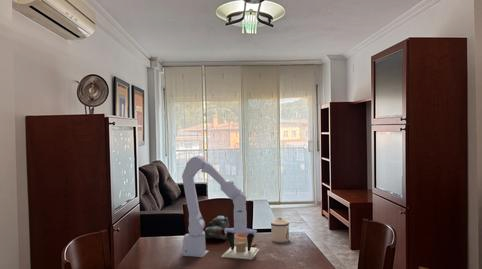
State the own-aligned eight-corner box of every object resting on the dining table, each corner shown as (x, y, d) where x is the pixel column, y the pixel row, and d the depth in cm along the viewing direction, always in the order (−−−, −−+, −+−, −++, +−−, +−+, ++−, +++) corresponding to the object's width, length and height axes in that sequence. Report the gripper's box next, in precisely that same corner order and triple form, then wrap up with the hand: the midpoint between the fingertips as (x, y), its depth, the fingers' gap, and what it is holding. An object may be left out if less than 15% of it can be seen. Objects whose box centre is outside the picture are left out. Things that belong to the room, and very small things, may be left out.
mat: (221, 257, 157) (220, 256, 157) (231, 247, 171) (231, 246, 171) (251, 260, 153) (251, 259, 153) (259, 249, 167) (259, 248, 167)
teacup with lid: (290, 242, 176) (289, 219, 176) (271, 243, 176) (271, 219, 176) (287, 235, 188) (287, 213, 188) (270, 236, 188) (269, 213, 188)
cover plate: (223, 256, 158) (223, 246, 158) (232, 247, 170) (232, 238, 170) (250, 258, 155) (250, 248, 155) (257, 249, 166) (257, 240, 166)
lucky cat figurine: (198, 237, 188) (205, 211, 194) (219, 244, 192) (225, 218, 197) (208, 236, 175) (215, 208, 181) (230, 243, 179) (236, 215, 185)
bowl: (231, 247, 172) (231, 237, 172) (238, 240, 181) (237, 231, 181) (252, 248, 169) (251, 238, 169) (257, 242, 178) (257, 233, 178)
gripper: (258, 218, 164) (258, 248, 164) (227, 216, 168) (228, 245, 168) (254, 222, 157) (254, 253, 157) (222, 220, 161) (223, 250, 161)
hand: (240, 249), depth 162 cm, fingers open, 7 cm apart
